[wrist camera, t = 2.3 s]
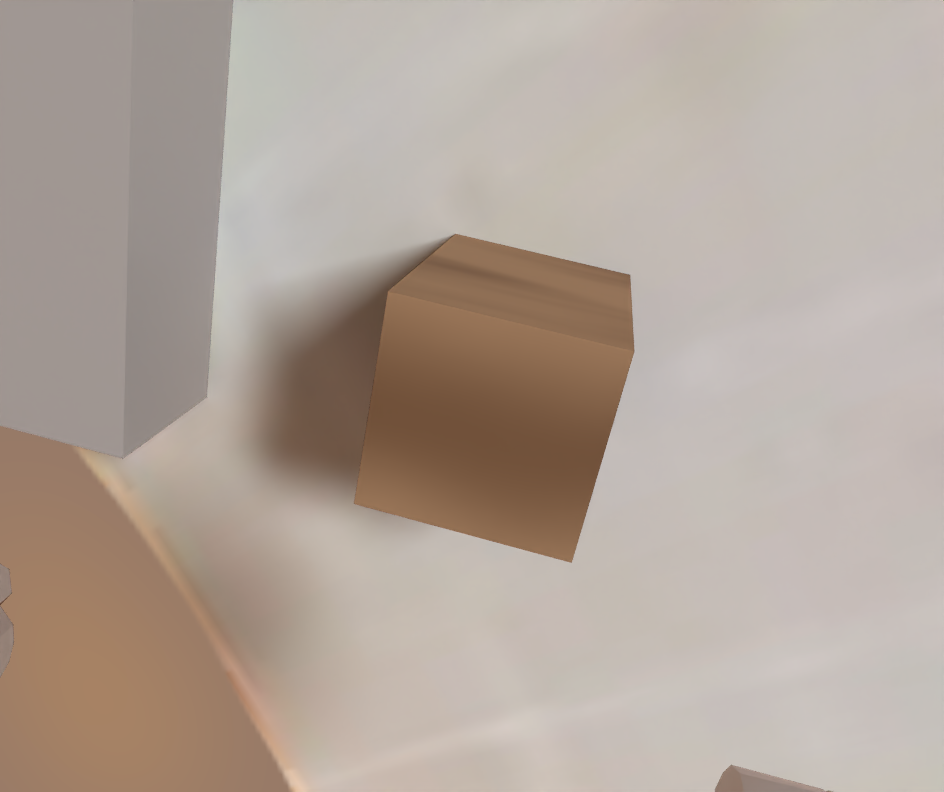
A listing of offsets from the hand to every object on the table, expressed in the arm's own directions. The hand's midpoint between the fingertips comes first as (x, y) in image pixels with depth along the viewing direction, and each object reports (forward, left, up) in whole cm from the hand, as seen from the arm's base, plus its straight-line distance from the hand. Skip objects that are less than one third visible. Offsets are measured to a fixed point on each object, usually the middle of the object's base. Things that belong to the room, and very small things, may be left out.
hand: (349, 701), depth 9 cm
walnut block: (0, 0, -15) cm, 15 cm away
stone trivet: (+1, +15, -16) cm, 22 cm away
